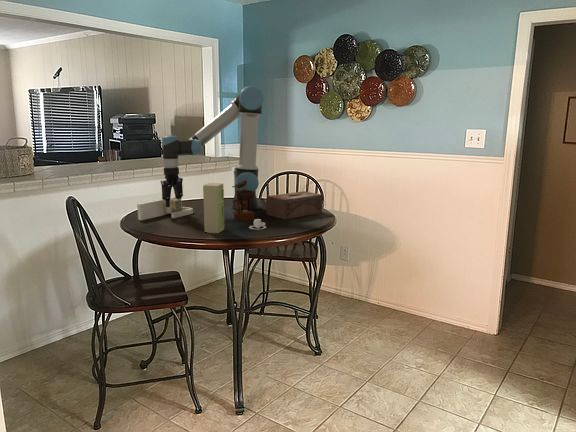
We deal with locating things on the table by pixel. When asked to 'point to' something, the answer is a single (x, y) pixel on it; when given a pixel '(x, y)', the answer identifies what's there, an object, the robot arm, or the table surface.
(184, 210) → the wall board
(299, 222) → the table surface
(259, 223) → the teacup and saucer
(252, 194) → the brown upright irregular piece
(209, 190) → the pale green tall block
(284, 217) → the tissue box cover
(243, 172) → the robot arm
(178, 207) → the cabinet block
